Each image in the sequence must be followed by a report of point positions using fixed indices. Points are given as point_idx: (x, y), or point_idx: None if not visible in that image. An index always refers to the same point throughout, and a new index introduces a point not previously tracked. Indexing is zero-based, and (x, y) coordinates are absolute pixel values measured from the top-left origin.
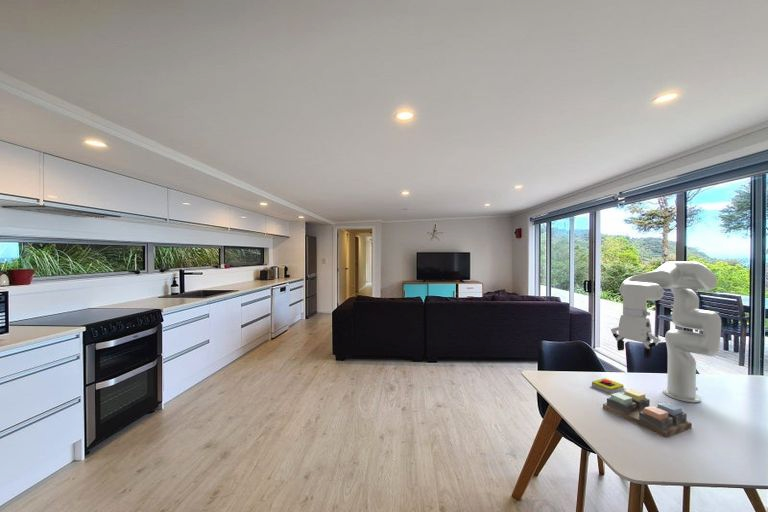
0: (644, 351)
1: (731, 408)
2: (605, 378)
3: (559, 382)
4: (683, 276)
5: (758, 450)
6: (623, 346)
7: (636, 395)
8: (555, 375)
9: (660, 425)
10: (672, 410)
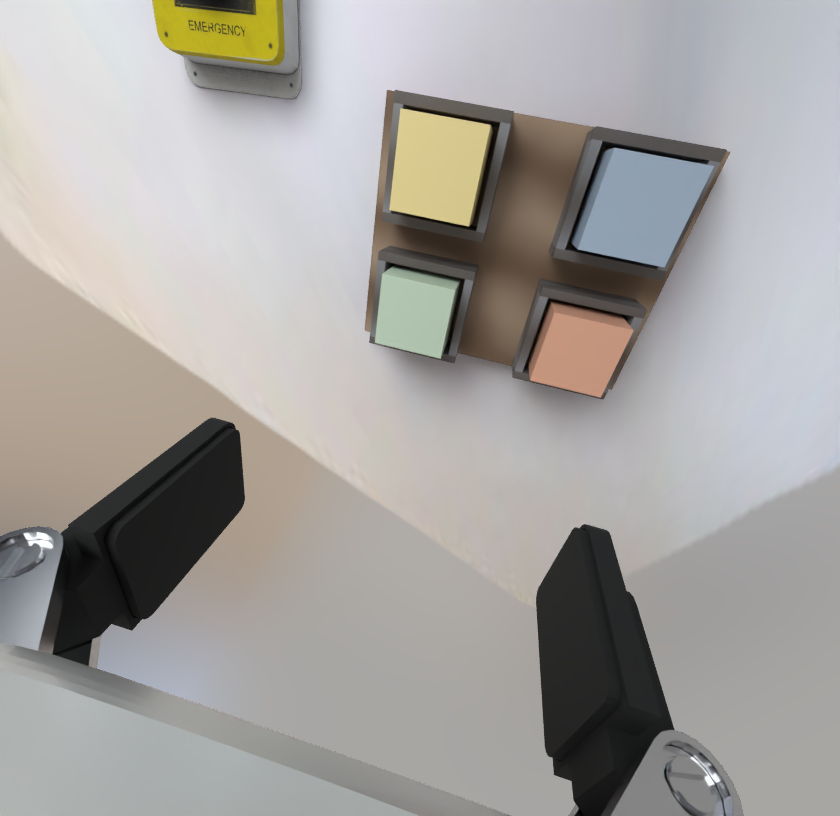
0: (546, 689)
1: None
2: None
3: (113, 196)
4: None
5: None
6: (201, 476)
7: (459, 222)
8: (18, 96)
9: None
10: (653, 263)
